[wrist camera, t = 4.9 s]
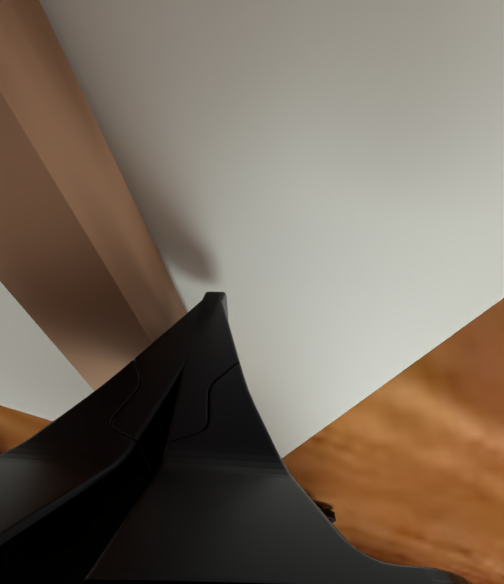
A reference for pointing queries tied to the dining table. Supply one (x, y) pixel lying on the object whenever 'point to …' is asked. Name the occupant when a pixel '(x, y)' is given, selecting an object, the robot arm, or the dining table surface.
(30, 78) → the link
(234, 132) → the hinge board
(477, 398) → the dining table surface
